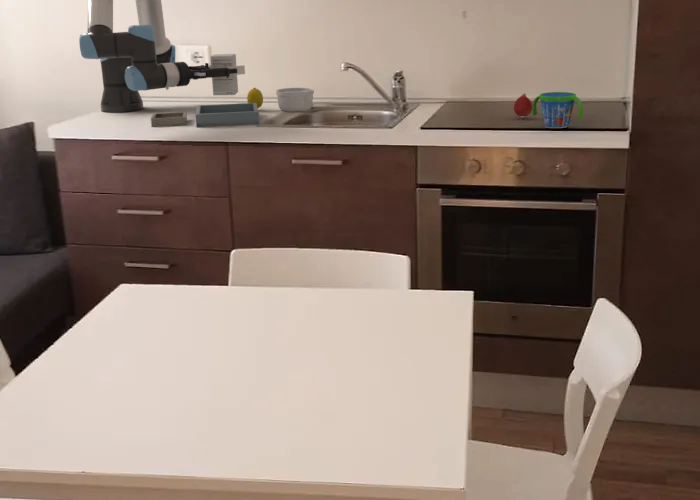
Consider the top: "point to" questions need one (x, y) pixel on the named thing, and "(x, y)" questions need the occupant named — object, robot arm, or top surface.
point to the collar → (169, 119)
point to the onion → (523, 106)
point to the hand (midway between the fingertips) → (235, 68)
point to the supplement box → (223, 83)
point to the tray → (227, 114)
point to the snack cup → (557, 108)
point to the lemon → (255, 97)
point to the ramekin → (295, 99)
